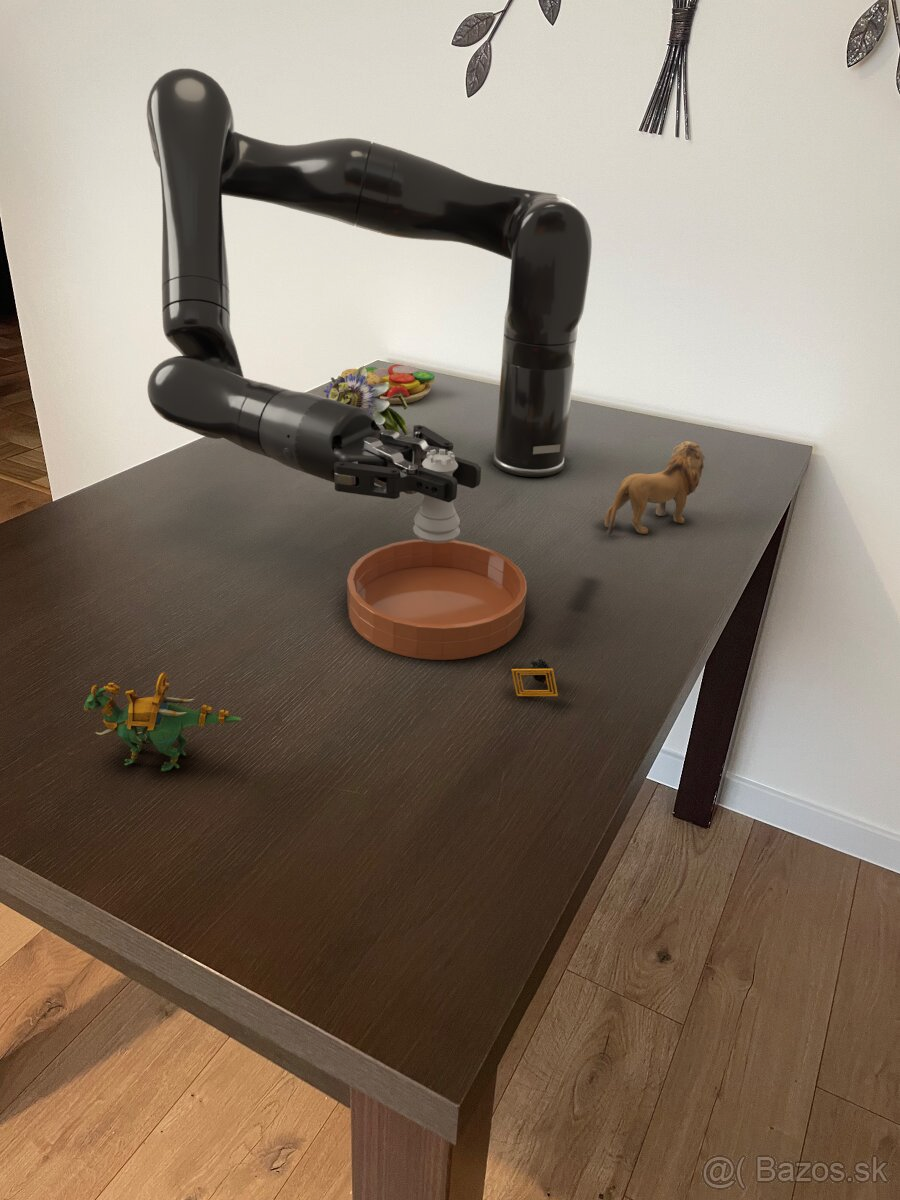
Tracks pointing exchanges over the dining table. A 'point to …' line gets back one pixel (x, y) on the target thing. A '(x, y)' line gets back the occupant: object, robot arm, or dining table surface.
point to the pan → (436, 599)
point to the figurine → (152, 719)
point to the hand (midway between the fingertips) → (466, 483)
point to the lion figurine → (660, 487)
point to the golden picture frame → (539, 674)
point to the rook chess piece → (437, 505)
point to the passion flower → (367, 398)
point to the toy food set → (399, 382)
